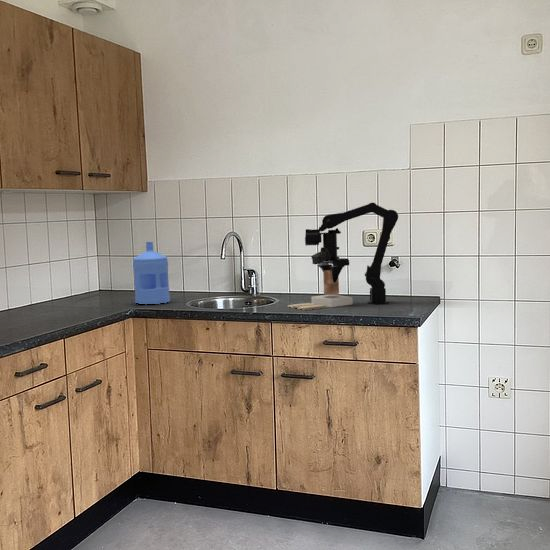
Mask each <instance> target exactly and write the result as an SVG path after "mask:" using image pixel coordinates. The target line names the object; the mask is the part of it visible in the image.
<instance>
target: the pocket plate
mask: <svg viewBox="0 0 550 550" xmlns="http://www.w3.org/2000/svg"><path fill="white" fill-rule="evenodd" d="M353 298H354V297H353V296H348V295H347V296H346V295H340V294H334V295H327V294H323V295H316V296H311V298H310V299H311V303H312V304H318V305H324V306H326V307H329V308H335V307H336V308H337V307H344V306H350V305H354V304H353V300H354V299H353Z"/></svg>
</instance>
